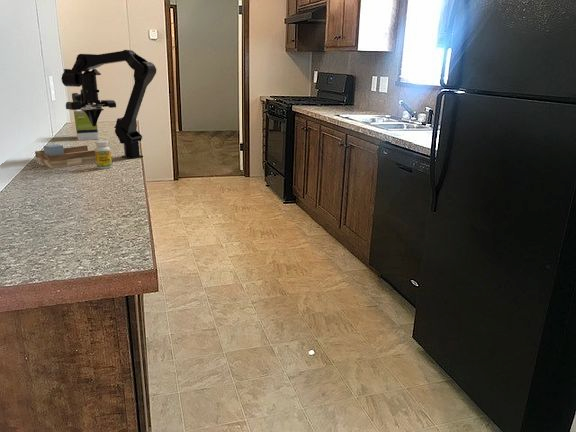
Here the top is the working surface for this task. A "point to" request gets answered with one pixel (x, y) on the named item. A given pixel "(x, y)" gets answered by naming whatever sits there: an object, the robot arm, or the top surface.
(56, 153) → the block
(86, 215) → the top surface
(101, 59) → the robot arm
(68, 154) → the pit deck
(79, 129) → the tea box
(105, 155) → the supplement bottle
